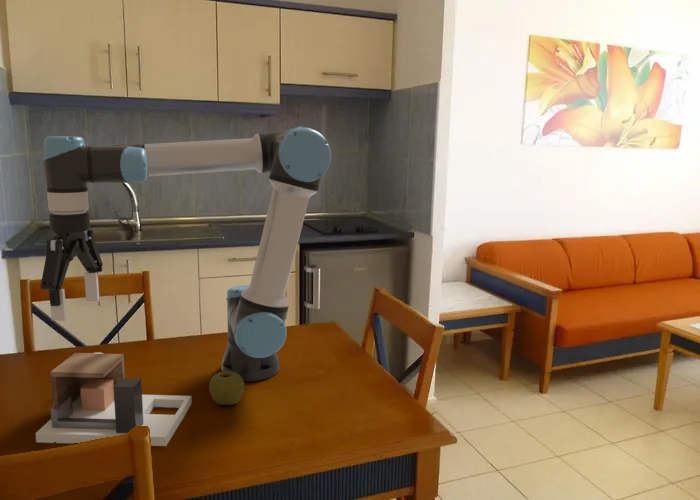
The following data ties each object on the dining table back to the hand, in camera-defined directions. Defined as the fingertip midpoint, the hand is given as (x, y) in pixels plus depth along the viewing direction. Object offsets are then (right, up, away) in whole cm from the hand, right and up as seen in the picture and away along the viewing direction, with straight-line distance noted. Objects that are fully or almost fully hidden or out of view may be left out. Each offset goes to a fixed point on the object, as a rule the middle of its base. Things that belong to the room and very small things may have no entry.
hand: (77, 310), depth 119 cm
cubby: (+2, -21, +3) cm, 22 cm away
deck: (+9, -24, +1) cm, 26 cm away
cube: (+3, -21, +4) cm, 22 cm away
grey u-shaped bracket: (+7, -23, -4) cm, 24 cm away
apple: (+30, -23, +10) cm, 39 cm away
